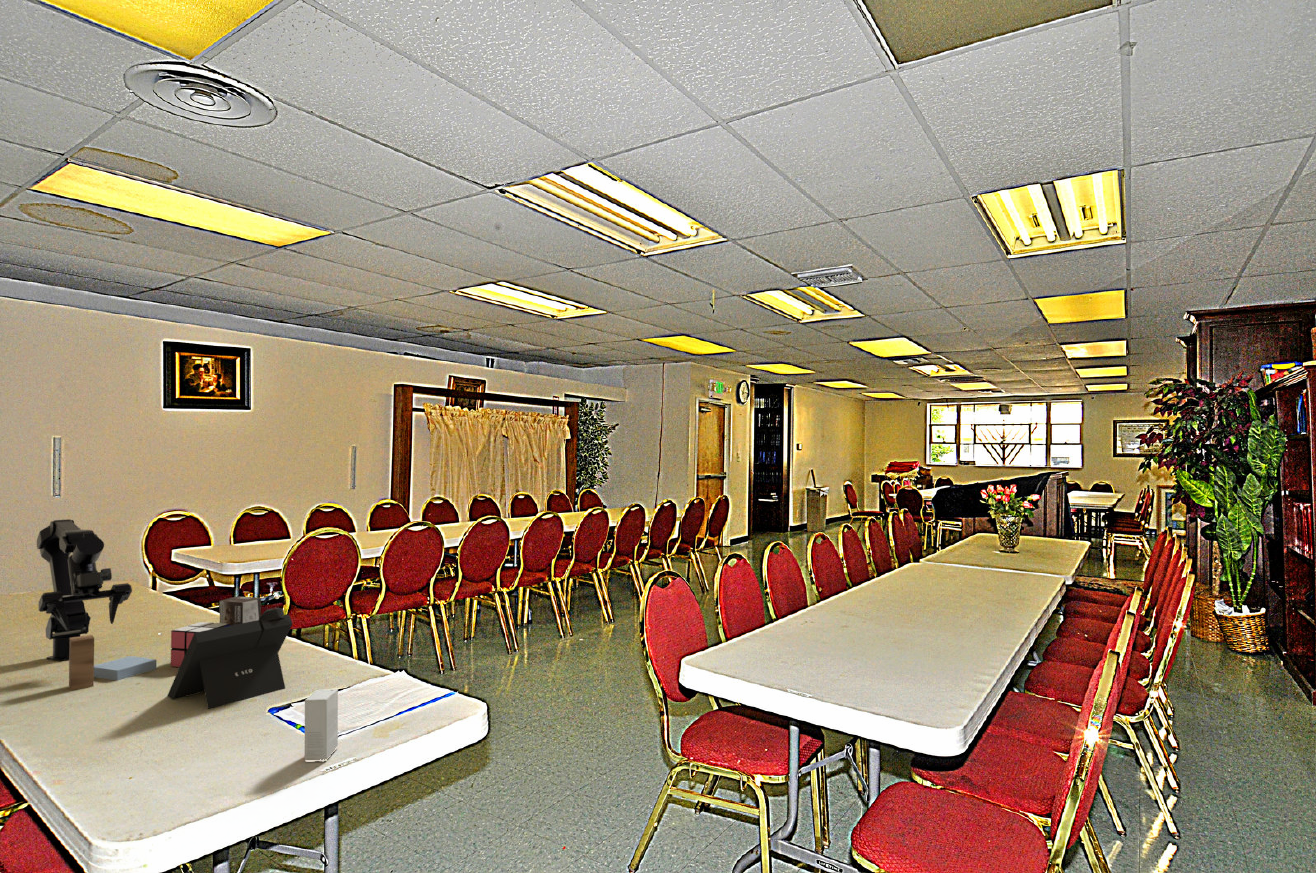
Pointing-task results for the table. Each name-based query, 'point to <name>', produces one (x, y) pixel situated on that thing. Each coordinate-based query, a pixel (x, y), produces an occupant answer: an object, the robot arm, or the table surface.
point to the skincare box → (321, 724)
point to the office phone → (234, 661)
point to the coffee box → (240, 610)
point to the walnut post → (81, 662)
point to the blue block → (124, 668)
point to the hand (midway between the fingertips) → (90, 626)
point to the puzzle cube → (187, 639)
